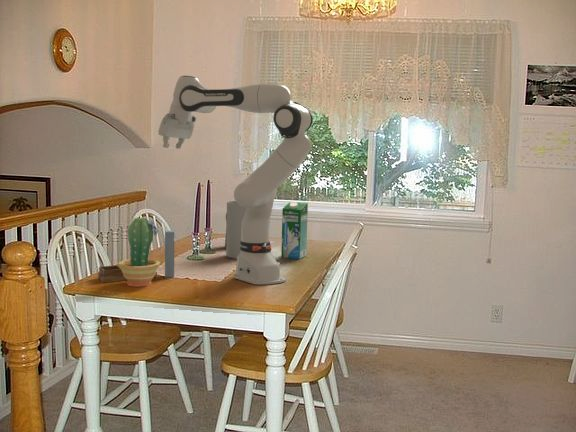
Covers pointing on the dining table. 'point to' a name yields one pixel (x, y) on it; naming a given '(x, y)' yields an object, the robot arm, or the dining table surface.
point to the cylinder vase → (234, 228)
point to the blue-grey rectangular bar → (169, 254)
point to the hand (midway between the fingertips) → (171, 147)
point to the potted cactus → (140, 254)
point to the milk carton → (294, 230)
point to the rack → (111, 274)
